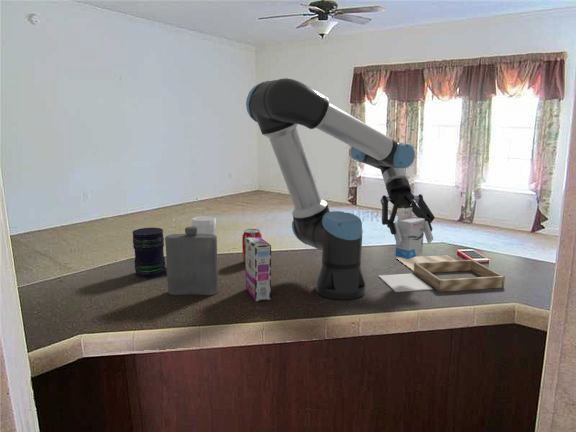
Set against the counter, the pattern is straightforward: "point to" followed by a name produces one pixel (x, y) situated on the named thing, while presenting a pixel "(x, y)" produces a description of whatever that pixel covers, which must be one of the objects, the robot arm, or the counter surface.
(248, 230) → the soda can
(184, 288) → the flask
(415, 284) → the mat
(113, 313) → the counter surface
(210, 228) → the cup
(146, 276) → the storage jar
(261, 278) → the candy bar box
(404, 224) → the ink box
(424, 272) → the mailer box
